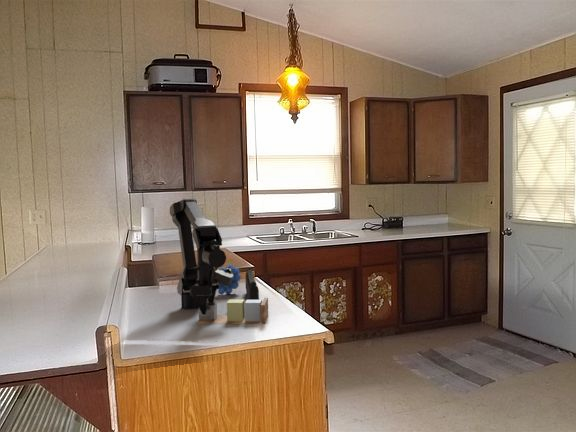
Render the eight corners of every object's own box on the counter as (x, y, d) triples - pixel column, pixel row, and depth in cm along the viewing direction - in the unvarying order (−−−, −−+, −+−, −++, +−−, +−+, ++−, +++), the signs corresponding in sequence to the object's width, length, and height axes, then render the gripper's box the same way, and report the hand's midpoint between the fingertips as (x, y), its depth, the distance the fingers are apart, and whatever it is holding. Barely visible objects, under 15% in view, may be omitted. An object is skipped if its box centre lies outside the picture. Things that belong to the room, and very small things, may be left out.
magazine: (259, 288, 160) (253, 251, 188) (249, 289, 160) (245, 251, 187) (259, 331, 166) (253, 288, 194) (250, 331, 166) (245, 289, 193)
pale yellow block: (227, 321, 150) (226, 302, 150) (229, 317, 154) (229, 299, 154) (242, 321, 150) (242, 302, 149) (244, 317, 154) (244, 299, 153)
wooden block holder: (196, 326, 149) (195, 304, 148) (203, 318, 158) (202, 297, 157) (264, 326, 147) (264, 304, 146) (268, 318, 156) (268, 297, 155)
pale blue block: (245, 321, 150) (244, 302, 149) (247, 317, 154) (246, 299, 153) (260, 321, 149) (260, 302, 149) (262, 317, 153) (261, 299, 153)
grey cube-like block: (199, 321, 151) (198, 305, 151) (202, 317, 155) (201, 302, 155) (214, 321, 151) (213, 305, 150) (217, 317, 155) (216, 302, 154)
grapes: (238, 290, 197) (237, 262, 196) (243, 293, 190) (242, 264, 190) (211, 293, 192) (210, 264, 191) (215, 297, 186) (214, 267, 185)
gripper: (224, 268, 141) (226, 319, 143) (236, 258, 160) (237, 302, 161) (188, 268, 142) (190, 318, 144) (204, 258, 161) (205, 302, 162)
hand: (207, 310), depth 153 cm, fingers open, 9 cm apart
